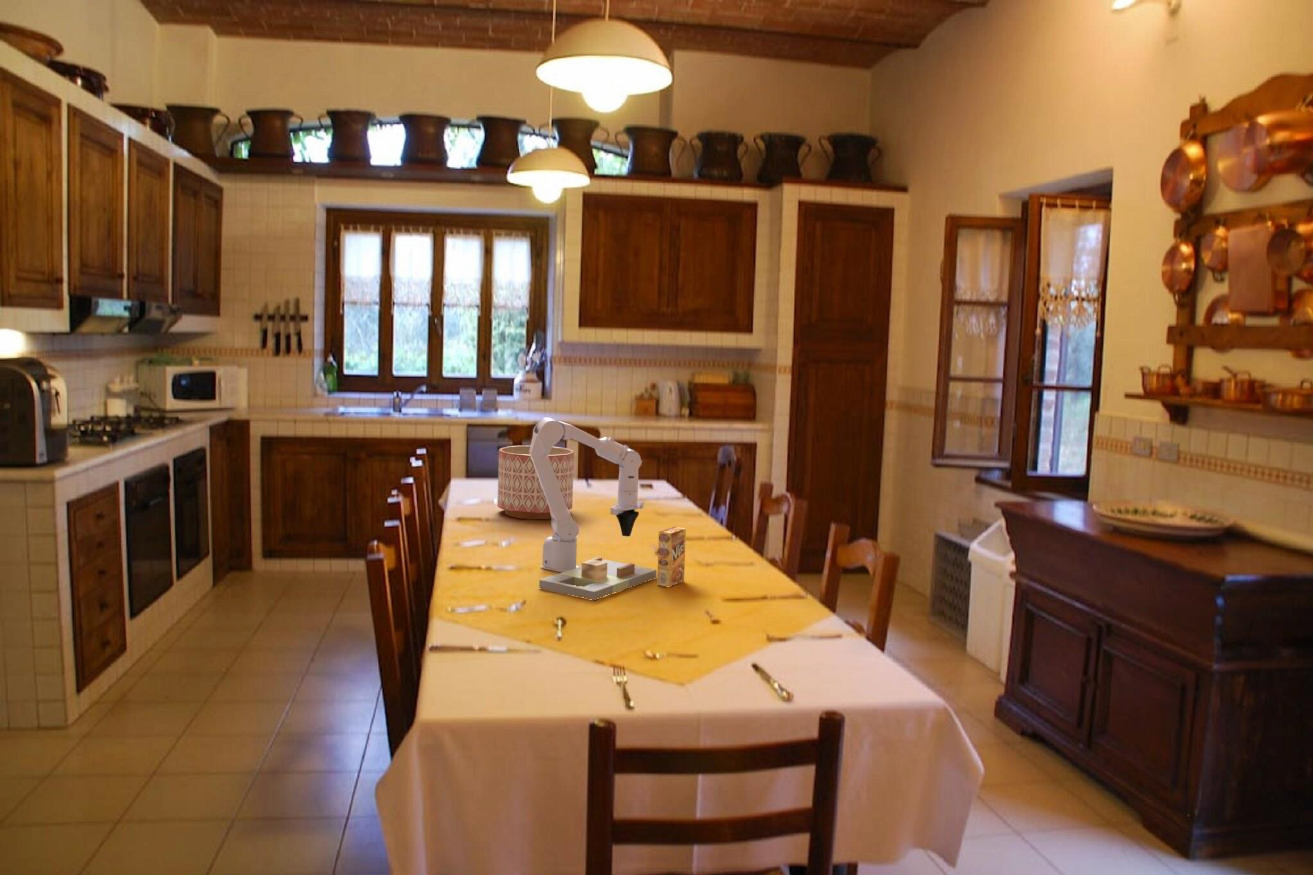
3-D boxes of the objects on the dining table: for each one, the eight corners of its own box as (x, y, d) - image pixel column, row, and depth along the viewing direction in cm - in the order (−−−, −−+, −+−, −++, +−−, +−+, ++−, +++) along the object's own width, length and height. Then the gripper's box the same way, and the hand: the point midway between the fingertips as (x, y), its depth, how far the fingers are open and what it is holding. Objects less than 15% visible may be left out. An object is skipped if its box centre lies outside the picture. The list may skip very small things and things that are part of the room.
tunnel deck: (539, 588, 265) (539, 570, 264) (604, 567, 290) (604, 551, 289) (593, 601, 255) (594, 582, 255) (656, 578, 280) (656, 561, 280)
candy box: (669, 588, 271) (671, 533, 269) (655, 585, 273) (658, 531, 271) (684, 581, 278) (687, 528, 277) (671, 579, 280) (673, 526, 279)
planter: (488, 508, 372) (490, 445, 370) (557, 505, 384) (559, 444, 381) (509, 522, 348) (511, 456, 345) (582, 519, 359) (584, 454, 357)
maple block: (581, 577, 269) (581, 562, 268) (592, 573, 273) (592, 559, 273) (596, 580, 266) (596, 565, 266) (606, 576, 270) (607, 562, 270)
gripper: (625, 494, 281) (623, 541, 283) (652, 488, 293) (650, 533, 295) (605, 491, 285) (603, 538, 286) (633, 485, 297) (631, 530, 299)
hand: (626, 535), depth 291 cm, fingers closed
